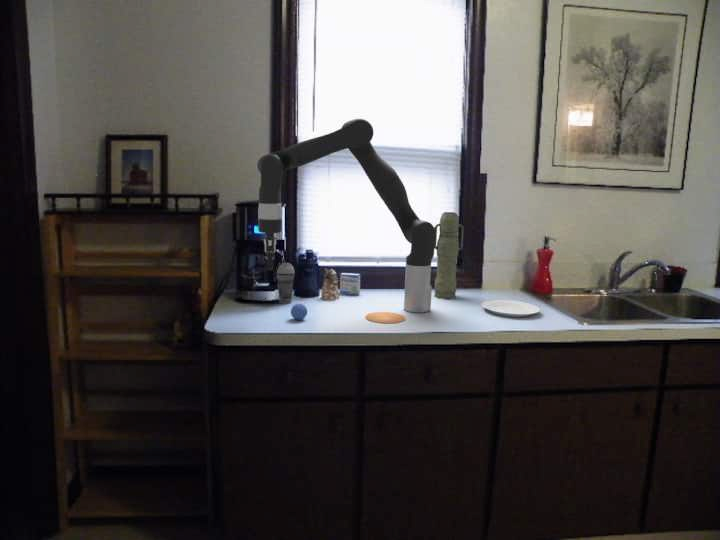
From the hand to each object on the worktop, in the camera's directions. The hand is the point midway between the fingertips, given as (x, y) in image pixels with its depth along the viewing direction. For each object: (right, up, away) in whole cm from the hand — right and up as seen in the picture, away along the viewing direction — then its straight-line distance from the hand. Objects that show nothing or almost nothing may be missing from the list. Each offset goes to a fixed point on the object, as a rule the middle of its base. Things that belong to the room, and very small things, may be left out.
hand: (270, 268), depth 166 cm
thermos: (+65, -12, +44) cm, 80 cm away
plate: (+86, -17, +23) cm, 91 cm away
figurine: (+18, -12, +36) cm, 42 cm away
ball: (+9, -15, +4) cm, 18 cm away
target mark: (+38, -17, +10) cm, 43 cm away
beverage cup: (+1, -13, +27) cm, 30 cm away
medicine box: (+25, -11, +45) cm, 52 cm away
